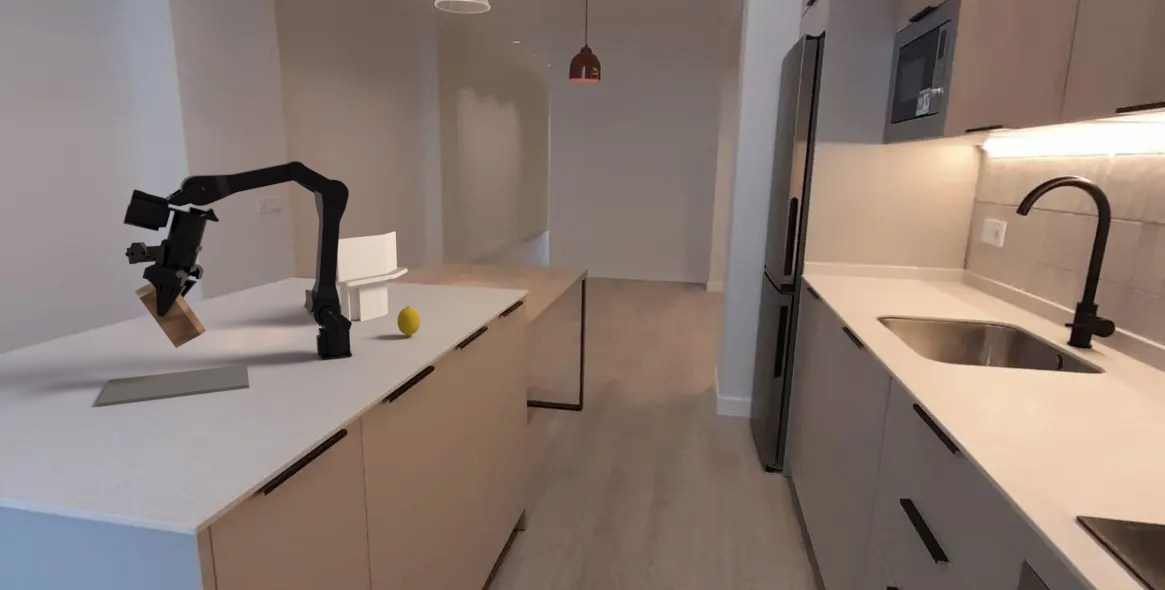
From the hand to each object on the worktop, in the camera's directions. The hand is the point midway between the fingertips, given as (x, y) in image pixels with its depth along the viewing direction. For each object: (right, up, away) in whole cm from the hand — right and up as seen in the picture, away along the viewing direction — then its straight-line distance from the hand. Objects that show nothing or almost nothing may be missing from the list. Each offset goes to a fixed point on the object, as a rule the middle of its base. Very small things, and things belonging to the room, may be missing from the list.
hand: (164, 314), depth 128 cm
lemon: (+38, -7, +37) cm, 54 cm away
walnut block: (+4, -5, +2) cm, 7 cm away
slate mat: (+4, -14, -1) cm, 14 cm away
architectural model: (+21, -2, +59) cm, 63 cm away
